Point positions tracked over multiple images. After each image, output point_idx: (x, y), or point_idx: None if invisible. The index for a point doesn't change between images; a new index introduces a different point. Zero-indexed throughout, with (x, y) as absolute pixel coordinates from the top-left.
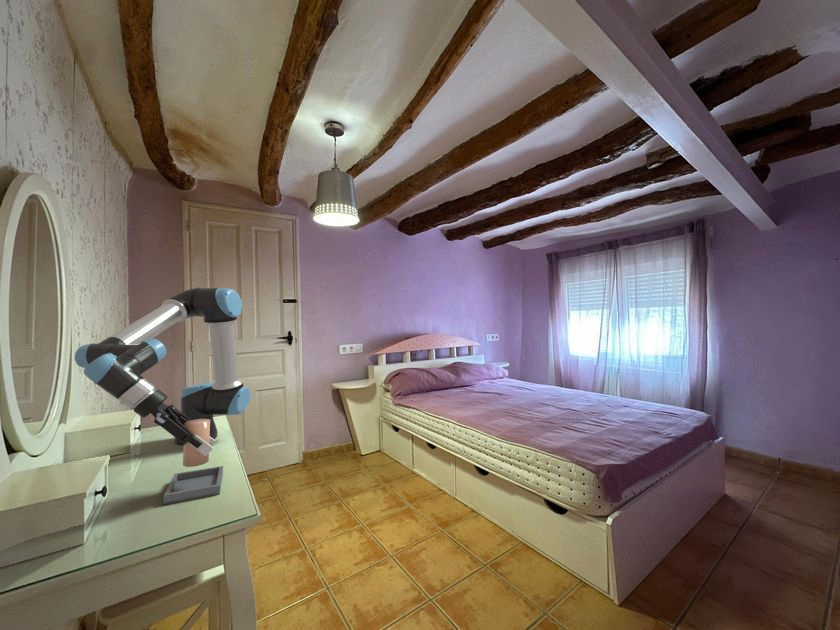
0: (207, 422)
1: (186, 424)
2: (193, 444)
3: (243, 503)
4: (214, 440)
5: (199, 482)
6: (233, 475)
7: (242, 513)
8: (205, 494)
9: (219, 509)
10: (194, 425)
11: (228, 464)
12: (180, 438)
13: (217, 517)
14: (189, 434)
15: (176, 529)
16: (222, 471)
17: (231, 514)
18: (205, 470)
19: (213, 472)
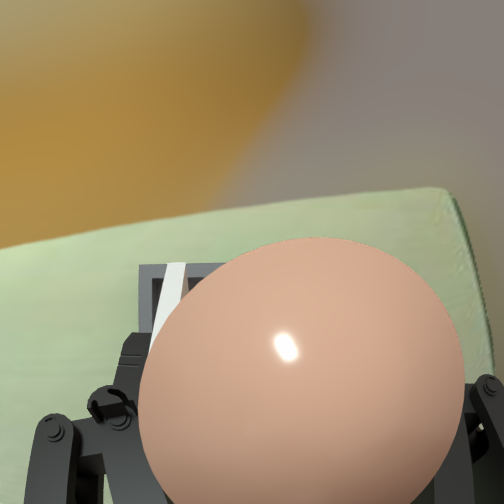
0: (399, 263)
1: (415, 497)
2: None
3: (399, 201)
4: (182, 267)
5: None
6: (177, 234)
7: (440, 205)
8: None
9: (413, 257)
10: (457, 397)
11: (62, 259)
12: (485, 437)
13: (445, 258)
14: (498, 387)
15: (463, 338)
16: (191, 264)
17: (440, 228)
18: (152, 331)
19: (155, 302)
